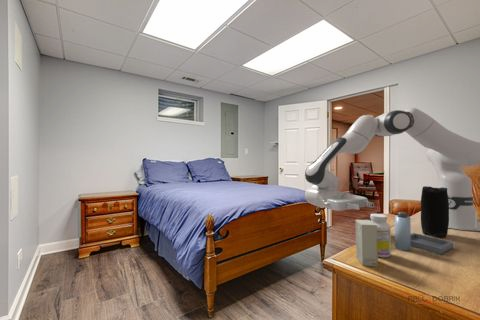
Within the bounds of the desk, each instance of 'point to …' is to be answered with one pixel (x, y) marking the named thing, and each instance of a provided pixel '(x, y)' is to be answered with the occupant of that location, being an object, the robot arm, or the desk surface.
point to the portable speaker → (435, 211)
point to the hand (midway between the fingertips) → (366, 206)
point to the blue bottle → (402, 232)
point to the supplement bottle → (382, 235)
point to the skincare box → (366, 242)
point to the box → (430, 244)
